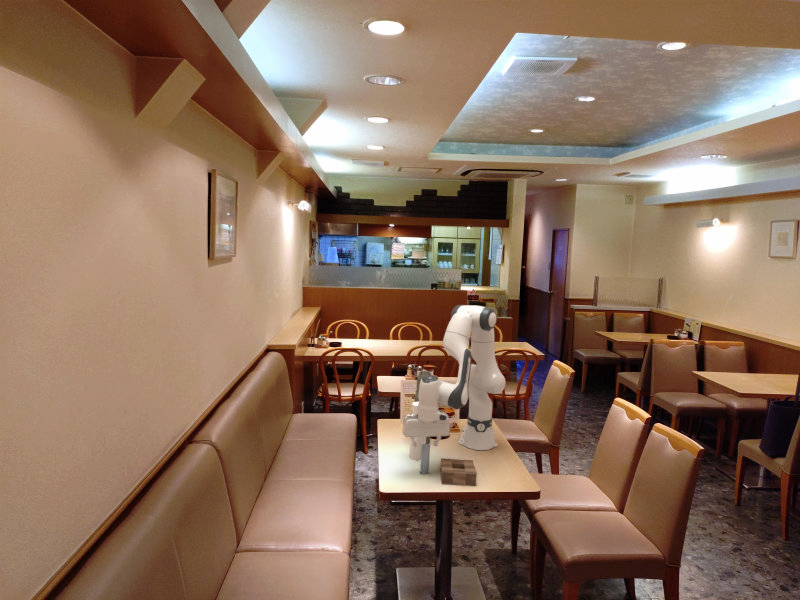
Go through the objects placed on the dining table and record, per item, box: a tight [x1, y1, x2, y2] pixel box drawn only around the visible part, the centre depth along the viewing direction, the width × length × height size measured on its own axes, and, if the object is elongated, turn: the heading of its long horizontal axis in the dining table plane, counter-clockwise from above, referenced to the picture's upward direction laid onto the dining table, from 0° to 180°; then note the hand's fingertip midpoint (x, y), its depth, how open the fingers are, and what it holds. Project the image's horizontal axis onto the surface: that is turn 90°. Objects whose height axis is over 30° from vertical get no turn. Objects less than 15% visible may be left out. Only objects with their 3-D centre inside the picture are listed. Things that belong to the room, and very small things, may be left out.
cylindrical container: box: [409, 401, 426, 461], centre depth 248 cm, size 7×7×25 cm
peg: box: [419, 443, 431, 475], centre depth 232 cm, size 4×4×12 cm
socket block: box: [439, 458, 478, 487], centre depth 230 cm, size 14×14×5 cm
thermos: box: [414, 370, 432, 445], centre depth 266 cm, size 9×12×35 cm
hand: (425, 445), depth 231 cm, fingers open, 8 cm apart
